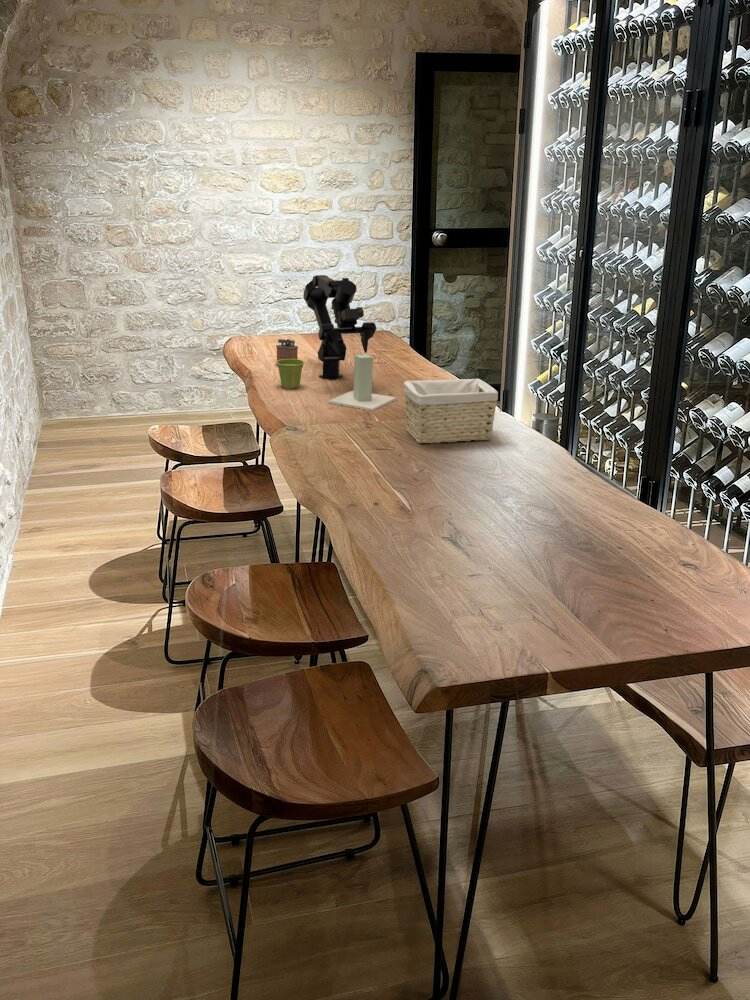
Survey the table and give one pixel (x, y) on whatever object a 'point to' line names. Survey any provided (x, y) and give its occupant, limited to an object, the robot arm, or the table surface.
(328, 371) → the robot arm
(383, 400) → the tile
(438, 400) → the storage basket
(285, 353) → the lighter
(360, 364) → the block
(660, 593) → the table surface
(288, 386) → the plant pot
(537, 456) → the table surface
